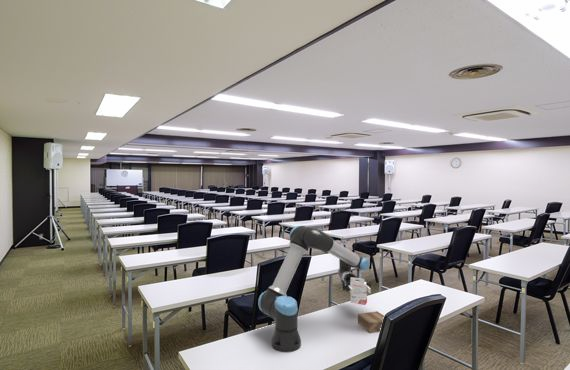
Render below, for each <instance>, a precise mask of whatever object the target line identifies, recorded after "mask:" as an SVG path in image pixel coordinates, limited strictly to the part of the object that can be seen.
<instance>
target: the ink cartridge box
mask: <svg viewBox="0 0 570 370" xmlns="http://www.w3.org/2000/svg"><path fill="white" fill-rule="evenodd" d="M355 280H359V281H355ZM364 281H365V278H361V277H356V278H353V277H351V282H350V287H351V288H352V289H353V294H351V293H350V292H349V293H350V303H351V304H356V305H361V306H362V305H363V306H366V304H367V303H368V292H367V282H368V281H366V282H364Z"/></svg>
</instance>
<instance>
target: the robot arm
mask: <svg viewBox="0 0 570 370" xmlns="http://www.w3.org/2000/svg"><path fill="white" fill-rule="evenodd" d="M288 237H289V240H290V241H289V243H288V244H289V249H288V251H287V253H286V256H285V258H284V260H283V262H282V264H281V265H280V268H279V270H278V273H277V275H276V277H275V278H274V281H273V283H272V284H271V285H270V286H269V287H268V288H267V289H266V290H265V291H264V292H261V294H260V295H259V297H258V299H257V301H258V302H257V304H258V308H259V310H260V311H261V312H262V314H263V315H266V316H268V317H269V318H272V319H273V320H274V332H273V335H272V337H271V338H272V339H271V346H272V348H273V349H275V350H277V351H279V352H283V353H288V352H294V351H296V350H298V349H300V348H301V346H302V338H301V336H300V333H299V330H298V309H299V308H298V302H297V300H296V299H295V298H293V297H292V296H288V295H287V291H288V289H289V286H290V284H291V282H292V280H293V277H294V275H295V274H296V271H297V269H298V266H299V264H300V263H301V260H302V258H303V255H304V254H306V253H308V251H309V249H314V250H318V251H321V252H323V253H328V254H329V255H332V256H334V257H335V258H337V259H339V265H338V266H339V268H338V271H337V275H338V277H339V278H340V280H341V286H342V290H344V291H346V292H349V293H351V294H353V289H352V288H351V287H350V282H351V277H353V278H357V276H355V274H354V273H352V269H356V270H360V271H364V272H365V271H368V270H369V268H370V265H371V262H370V260H369V259H368V258H366V257H363V256H361V255H359V254H357V253H355V252H353V251H352V250H350V249H348V248H347V247H345V246H343V245H342V244H340V243H339V242H336V241H335V240H334V238H333V237H332V236H330V235H329V234H327V233H325V232H324V231H322V230H320V229H318V228H316V227H310V226H305V225H296V226H294V227H293V228H291V231H290V232H289V236H288ZM355 281H360V280H355ZM364 282H367V294H368V293H369V294H371V292H372V291H371V290H372V289H371V288H372V284H371V283H370V282H368V281H366V280H364Z"/></svg>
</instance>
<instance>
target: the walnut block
mask: <svg viewBox="0 0 570 370" xmlns="http://www.w3.org/2000/svg"><path fill="white" fill-rule="evenodd" d="M383 317H384V315H383V314H382V313H381V312H379V311H377V310H376V311H370V312H361V313H357V324H358V325H359V326H360V327H362V329H364V330H365V331H366V332H367V333H368V334H374V333H380V332H379V331H380V328H381V325H382V321H383Z"/></svg>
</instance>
